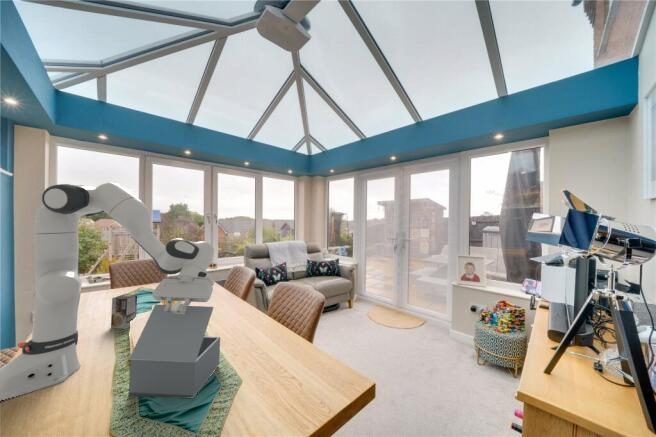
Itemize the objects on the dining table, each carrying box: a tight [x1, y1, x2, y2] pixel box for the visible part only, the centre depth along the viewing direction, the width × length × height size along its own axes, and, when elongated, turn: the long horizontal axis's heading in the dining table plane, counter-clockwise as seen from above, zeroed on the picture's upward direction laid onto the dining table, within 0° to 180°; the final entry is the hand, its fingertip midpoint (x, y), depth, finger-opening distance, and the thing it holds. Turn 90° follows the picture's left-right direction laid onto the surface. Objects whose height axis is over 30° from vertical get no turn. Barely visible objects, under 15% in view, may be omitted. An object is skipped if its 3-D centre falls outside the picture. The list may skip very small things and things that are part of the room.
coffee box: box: [110, 294, 138, 330], centre depth 130 cm, size 9×6×16 cm
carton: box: [128, 335, 221, 399], centre depth 89 cm, size 18×22×12 cm
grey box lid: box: [129, 302, 214, 362], centre depth 83 cm, size 18×22×6 cm
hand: (173, 311), depth 84 cm, fingers closed on grey box lid, 3 cm apart
